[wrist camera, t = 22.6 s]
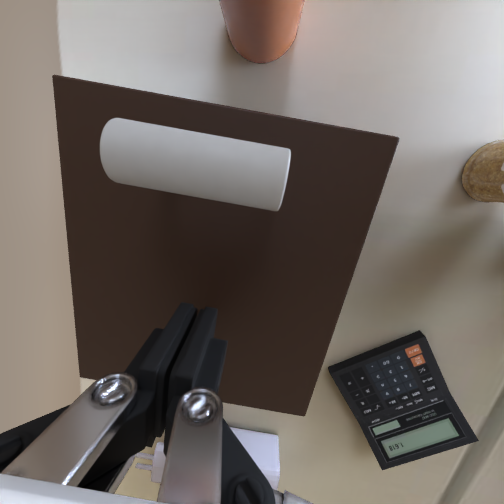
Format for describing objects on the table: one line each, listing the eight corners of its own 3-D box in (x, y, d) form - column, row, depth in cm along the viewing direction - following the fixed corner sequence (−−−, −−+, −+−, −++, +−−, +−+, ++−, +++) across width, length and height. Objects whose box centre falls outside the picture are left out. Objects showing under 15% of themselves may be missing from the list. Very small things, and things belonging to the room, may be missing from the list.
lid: (66, 80, 10) (-91, 14, 6) (391, 139, 10) (488, 120, 6) (88, 367, 15) (15, 451, 11) (303, 404, 16) (318, 504, 11)
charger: (147, 408, 28) (278, 429, 28) (145, 463, 31) (264, 483, 31) (125, 452, 24) (281, 478, 24) (124, 513, 26) (264, 536, 26)
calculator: (419, 330, 23) (441, 352, 21) (456, 414, 26) (479, 443, 23) (328, 367, 25) (336, 392, 22) (371, 442, 28) (383, 472, 25)
